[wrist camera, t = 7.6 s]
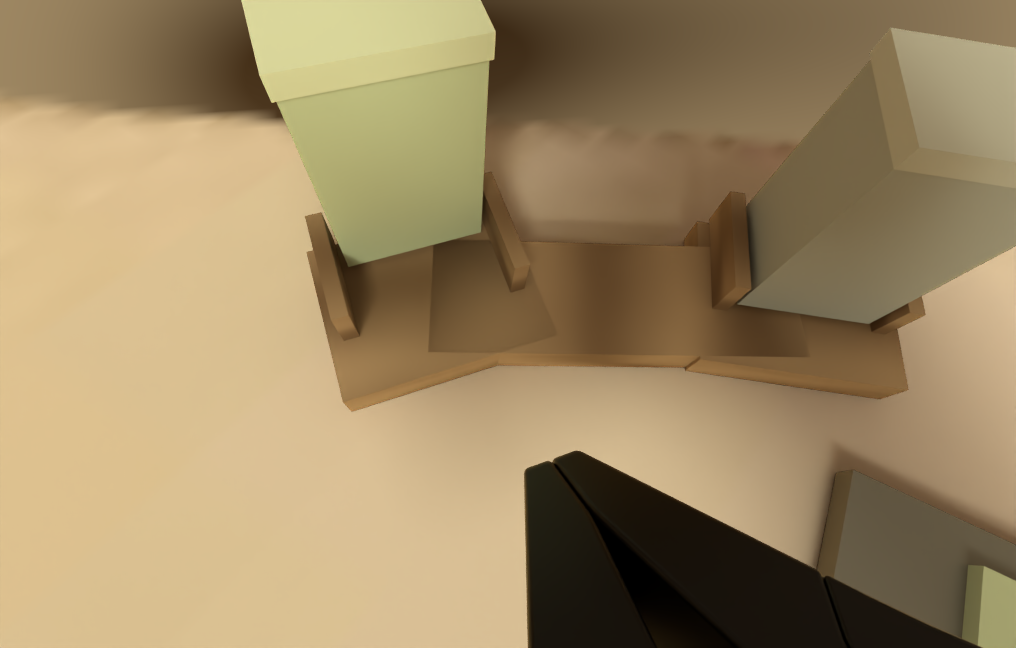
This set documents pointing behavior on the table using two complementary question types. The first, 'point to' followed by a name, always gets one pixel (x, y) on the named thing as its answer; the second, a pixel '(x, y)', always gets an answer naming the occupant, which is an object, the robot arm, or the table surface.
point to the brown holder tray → (582, 312)
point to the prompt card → (920, 560)
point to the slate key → (892, 184)
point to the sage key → (383, 112)
